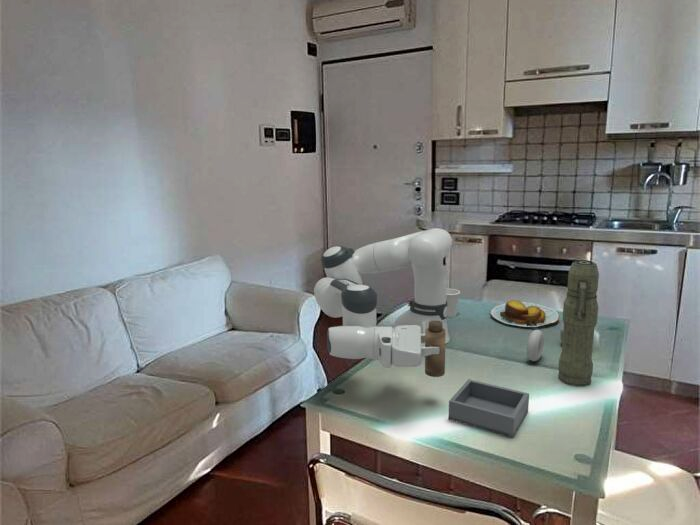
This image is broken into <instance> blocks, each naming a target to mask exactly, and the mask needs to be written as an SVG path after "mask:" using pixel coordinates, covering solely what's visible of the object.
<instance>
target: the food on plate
mask: <svg viewBox="0 0 700 525" xmlns="http://www.w3.org/2000/svg"><path fill="white" fill-rule="evenodd" d="M489 313H490V316H492V318H494V319H496V320H497V321H499V322H501V323H503V324H507V325H512V326H518V327H523V328H537V327H541V326H545V325H550V324H554V323H556V322H557V323H559V322H560V321H559V320H560V315H559V313H558V312H557V311H556V310H555V309H553V308H550V307H548V306H546V305H542V304H538V303H533V302H525V301H520V300H509V301H506V302H505V303H501V304H498V305H496V306H494V307H492V308H490V311H489ZM501 317H503V318H505V319H506V320H505V319H504V321H503V320H501ZM507 320H508V321H507ZM545 320H546V322H545ZM509 321H510V322H511V323H510V322H509ZM507 322H508V323H507ZM541 323H544V324H542V325H537V326H535V325H528V324H541ZM527 325H528V326H527Z"/></svg>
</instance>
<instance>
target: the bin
mask: <svg viewBox="0 0 700 525" xmlns="http://www.w3.org/2000/svg"><path fill="white" fill-rule="evenodd" d="M529 401H530V393H528V392H524V391H520V390H517V389H512V388H507V387H504V386H498V385H495V384H491V383H486V382H484V381H483V382H482V381H478V380H474V379H470V378H468V379H467V380H466V381H465V382H464V384H463V385H462V386H461V387H460V388H459V389H458V390H457V391H456V392H455V393H454V395H453V396H452V397H451V398H450V399H449V400H448V420H449V421H453V422H456V421H457V422H456V423H460V424H464V425H467V426H470V427H475V428H478V429H481V430H484V431H487V432H491V433H496V434H498V435H502V436H505V437H508V438H512V439H513V438H514V437H515V435H516V433H517V432H518V430H519V428H520V427H521V426H522V423H523V421H524V419H525V418H526V416H527V414H528V412H529V406H530V405H529V403H530V402H529Z"/></svg>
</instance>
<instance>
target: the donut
mask: <svg viewBox="0 0 700 525" xmlns="http://www.w3.org/2000/svg"><path fill="white" fill-rule="evenodd" d="M544 337H545V336H544V333H543V331H541V330H539V329H535V330H532V332H531V333H530V334H529V336H528V338H527V344H526V356H527V358H528V360H529V361H532V362H537V361H539V359H540V358H541V356H542V355H543V354H542V353H543V349H544V345H545V338H544Z"/></svg>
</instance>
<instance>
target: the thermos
mask: <svg viewBox="0 0 700 525" xmlns="http://www.w3.org/2000/svg"><path fill="white" fill-rule="evenodd" d="M599 278H600V273H599V269H598V266H597V264H596V263H595V262H594V261H590V260H586V259H585V260H583V259H581V260H580V259H579V260H575V261H573V262H572V263H571V265H570V267H569V270H568V276H567V287H566V288H567V293H566V297H565V300H564V302H563V307H562V308H563V310H562V320H563V322H564V330H563V342H561V353H560V355H559V358H558V367H557V368H558V374H557V375H558V377H557V378H558V380H559V381H560V382H562V383H564V384H566V385H569V386H573V387H587V386H586V385H588V386H590V385H591V383H592V375H593V373H594V372H593V371H594V363H593V360H592V358H593V347H594V335H595V328H596V325H597V324H598V315H599V303H598V300H597V298H598V295H597V292H598V288H599Z"/></svg>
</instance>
